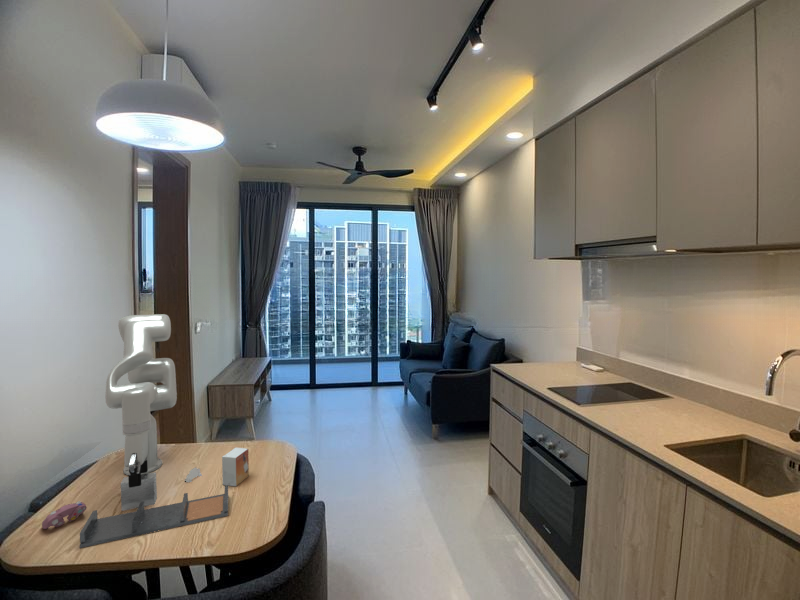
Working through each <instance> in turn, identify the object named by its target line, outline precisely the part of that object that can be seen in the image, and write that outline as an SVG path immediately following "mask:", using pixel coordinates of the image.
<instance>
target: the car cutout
mask: <svg viewBox="0 0 800 600" xmlns="http://www.w3.org/2000/svg"><path fill="white" fill-rule="evenodd" d="M197 476H198V477H200V476H202V477H203V475H202V473H201V469H200V468H199V467H198V468H197V467H194V468H191V469H190V470H189V473H187V475H186V478H184V482H185V481H186V482H185V483H187V482H188V483H189V482H192V483H193V480H194V479H193V478H195V477H196V478H198V477H197ZM196 478H195V479H196ZM192 479H193V480H192Z"/></svg>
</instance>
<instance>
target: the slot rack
mask: <svg viewBox="0 0 800 600" xmlns="http://www.w3.org/2000/svg"><path fill="white" fill-rule="evenodd" d="M188 494H189V493H188V492H185V493H183V498H182V501H181V502H177V503H171V504H166V505H161V506H156V507H151V508H145V507H144V501H142V502H140V504H139V507H138V508H136V511H132V512H126V513H120V514H115V515H112V516H105V517H100V518H98V510H92V512H91V513H90V515H89V517H88V518H87V520H86V522H85V523H84V525H83V527H82V529H81V530H80V531H79V549H83V548H87V547H92V546H96V545H100V544H101V545H102V544H105V543H110V542H111V543H112V542H115V541H119V540H123V539H127V538H132V537H138V536H142V534H143V535H147V534H151V533H150V532H152V533H155V532H154V531H156V532H159V531H158V530H161V531H165V529H166V530H169V529H174V528H178V527H183V525H184V526H187V525H192V524H196V523H198V524H199V523H202V522H206V521H211V520H215V519H221V518H225V517H228V516H229V486H228V485H224V493H221V494H217V495H212V496H206V497H203V498H201V497H200V498H197V499H193V500H189V496H188ZM146 533H147V534H146Z"/></svg>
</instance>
